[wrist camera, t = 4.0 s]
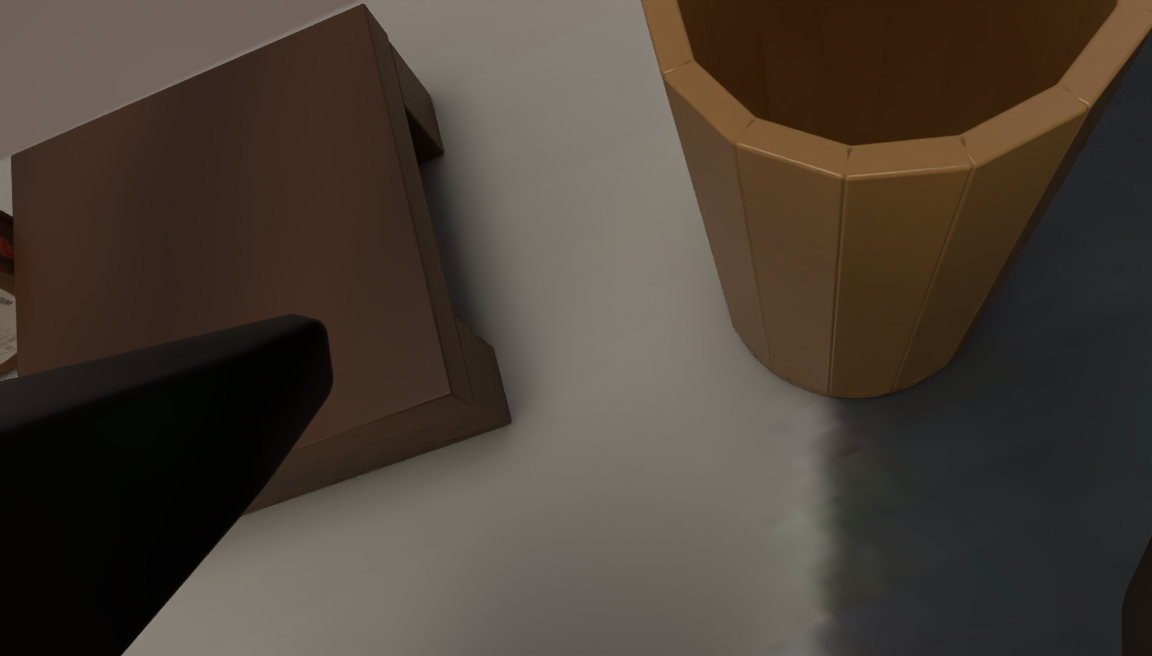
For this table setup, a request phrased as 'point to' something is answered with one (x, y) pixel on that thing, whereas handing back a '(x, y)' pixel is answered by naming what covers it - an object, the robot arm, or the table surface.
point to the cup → (880, 162)
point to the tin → (7, 296)
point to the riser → (263, 241)
